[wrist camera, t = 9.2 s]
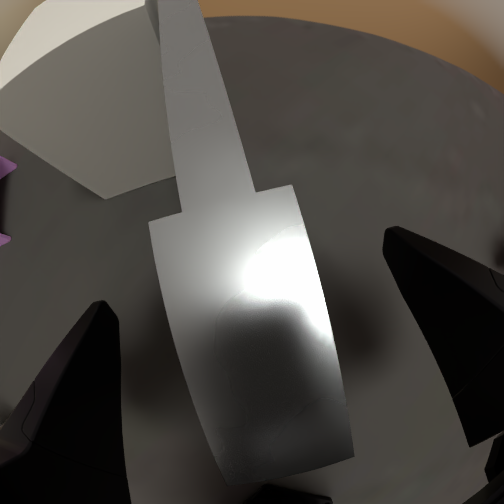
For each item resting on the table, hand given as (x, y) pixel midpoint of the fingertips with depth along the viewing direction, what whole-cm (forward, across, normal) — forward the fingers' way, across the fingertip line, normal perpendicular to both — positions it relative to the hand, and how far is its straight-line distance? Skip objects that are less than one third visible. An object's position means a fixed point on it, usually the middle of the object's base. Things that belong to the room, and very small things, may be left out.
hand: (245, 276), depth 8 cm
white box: (+16, +5, -3) cm, 17 cm away
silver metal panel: (+9, 0, +4) cm, 9 cm away
